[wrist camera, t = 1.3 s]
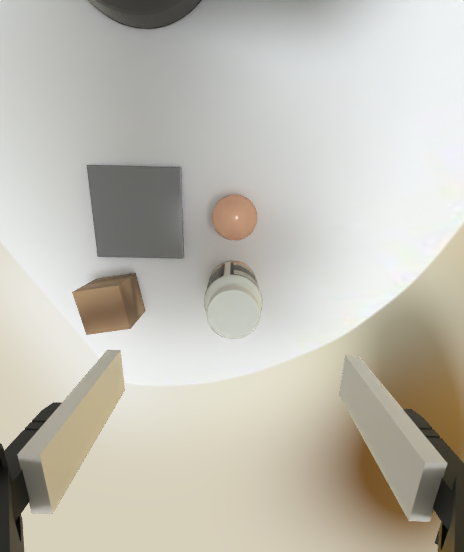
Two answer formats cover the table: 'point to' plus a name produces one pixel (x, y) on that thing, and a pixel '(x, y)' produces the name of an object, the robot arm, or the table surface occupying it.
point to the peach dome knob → (234, 217)
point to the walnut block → (109, 303)
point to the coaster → (137, 211)
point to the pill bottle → (233, 300)
